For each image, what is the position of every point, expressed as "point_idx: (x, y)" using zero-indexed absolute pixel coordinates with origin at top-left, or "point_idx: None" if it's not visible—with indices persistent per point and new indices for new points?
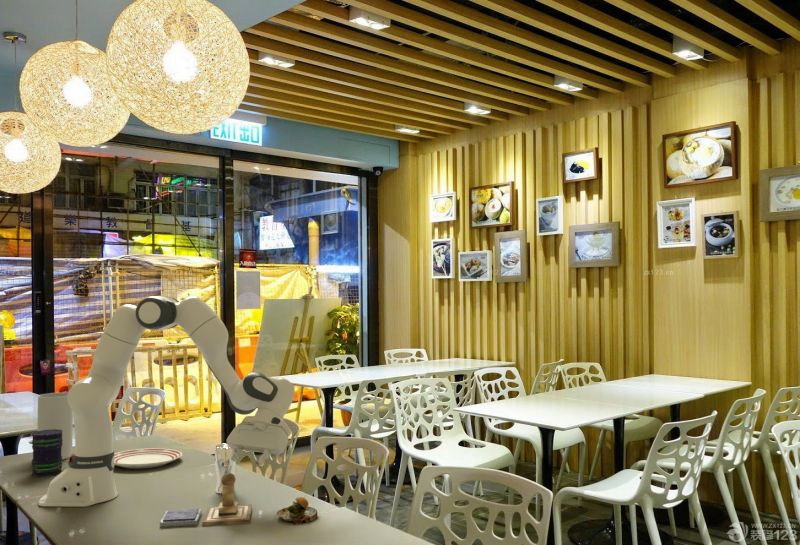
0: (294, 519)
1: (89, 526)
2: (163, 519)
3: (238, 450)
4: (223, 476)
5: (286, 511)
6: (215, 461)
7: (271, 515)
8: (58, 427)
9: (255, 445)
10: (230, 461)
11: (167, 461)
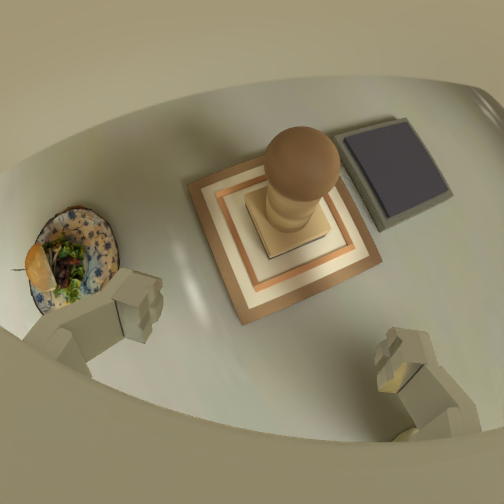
0: (65, 210)
1: (496, 132)
2: (408, 124)
3: (420, 436)
4: (321, 132)
5: None
6: None
7: (147, 270)
8: None
9: (164, 415)
10: None
11: None
